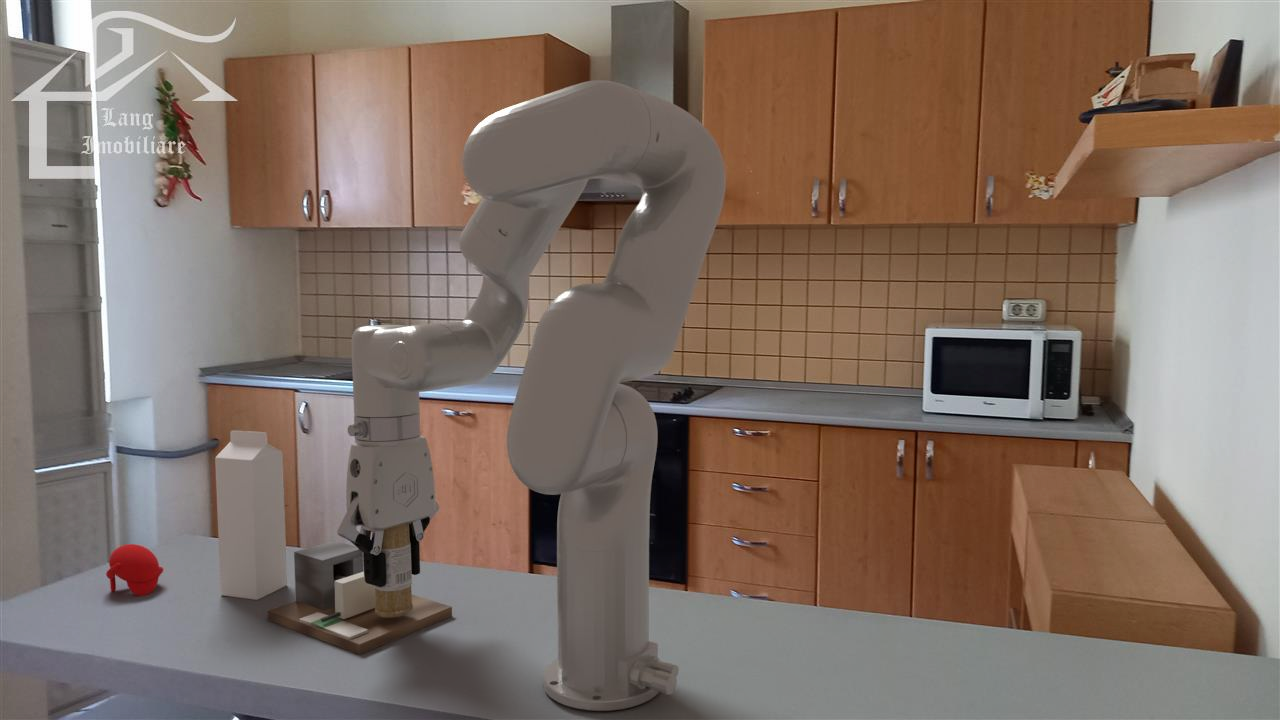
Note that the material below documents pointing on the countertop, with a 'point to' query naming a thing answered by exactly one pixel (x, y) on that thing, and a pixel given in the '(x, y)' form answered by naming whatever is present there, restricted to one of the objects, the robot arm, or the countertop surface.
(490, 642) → the countertop surface
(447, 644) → the countertop surface
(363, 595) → the spring plunger
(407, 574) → the sprinkles bottle
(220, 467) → the milk
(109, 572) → the cap
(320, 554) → the gauge frame
